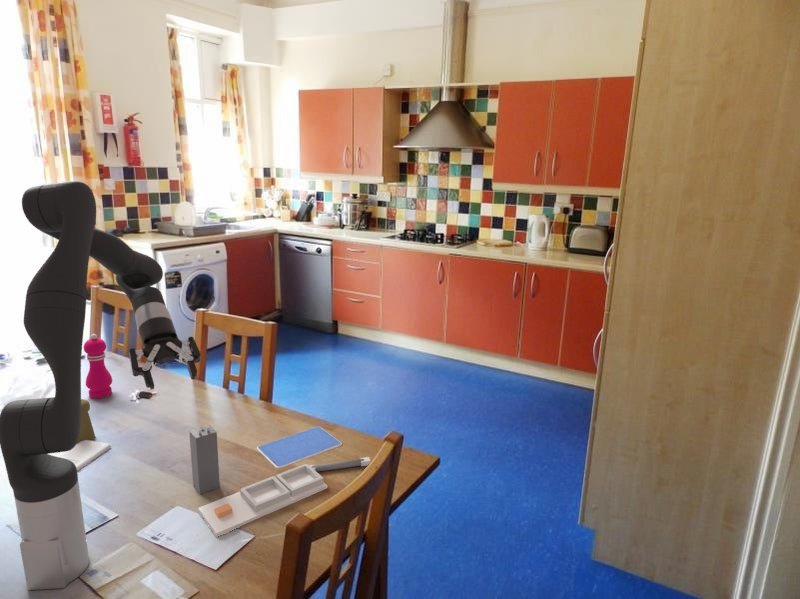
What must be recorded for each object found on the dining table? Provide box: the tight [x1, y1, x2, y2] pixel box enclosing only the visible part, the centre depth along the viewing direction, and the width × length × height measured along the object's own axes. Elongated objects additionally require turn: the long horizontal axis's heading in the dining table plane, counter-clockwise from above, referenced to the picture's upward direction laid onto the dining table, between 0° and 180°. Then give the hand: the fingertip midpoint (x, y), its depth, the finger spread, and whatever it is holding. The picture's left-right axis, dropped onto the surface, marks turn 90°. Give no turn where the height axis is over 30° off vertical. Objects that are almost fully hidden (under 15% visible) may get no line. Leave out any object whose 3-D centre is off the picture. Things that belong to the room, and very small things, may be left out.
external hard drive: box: [57, 440, 112, 472], centre depth 129 cm, size 2×8×12 cm
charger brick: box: [188, 424, 221, 495], centre depth 118 cm, size 4×5×15 cm
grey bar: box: [305, 456, 372, 473], centre depth 128 cm, size 16×2×2 cm, turn 107°
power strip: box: [197, 462, 328, 538], centre depth 115 cm, size 26×10×2 cm, turn 131°
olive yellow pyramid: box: [77, 398, 96, 444], centre depth 136 cm, size 6×6×11 cm
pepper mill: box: [83, 333, 113, 399], centre depth 161 cm, size 7×7×20 cm
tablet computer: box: [256, 426, 343, 469], centre depth 138 cm, size 19×13×1 cm, turn 130°
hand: (173, 382), depth 115 cm, fingers open, 8 cm apart
